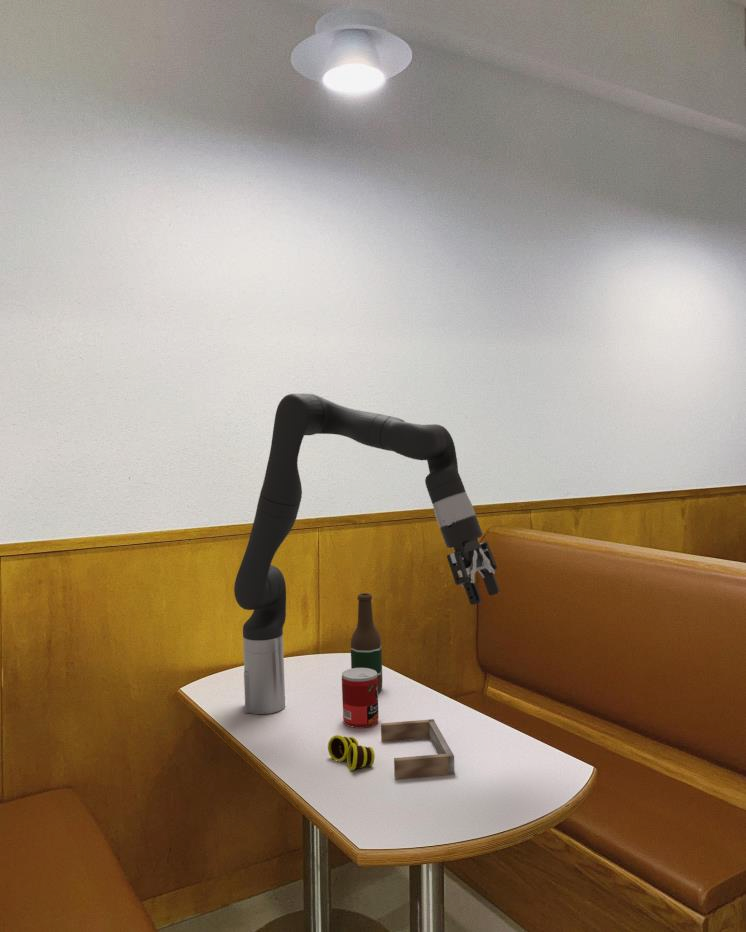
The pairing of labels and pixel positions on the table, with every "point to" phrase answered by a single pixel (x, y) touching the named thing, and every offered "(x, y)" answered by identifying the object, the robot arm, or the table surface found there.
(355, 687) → the canned food
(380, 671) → the beer bottle
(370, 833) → the table surface
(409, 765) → the walnut bay
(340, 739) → the opera glasses
